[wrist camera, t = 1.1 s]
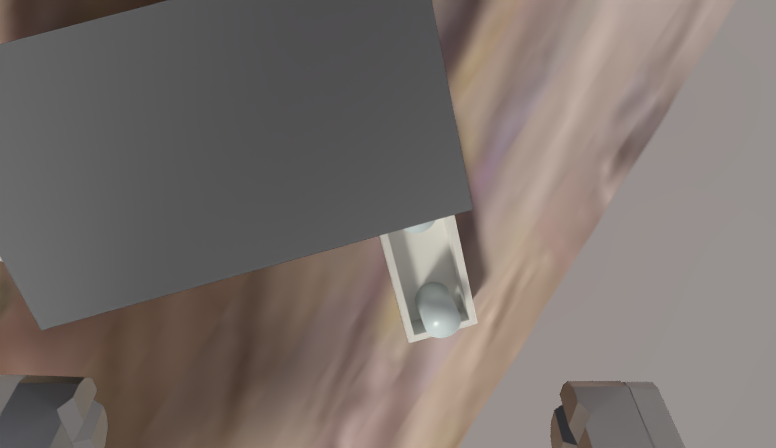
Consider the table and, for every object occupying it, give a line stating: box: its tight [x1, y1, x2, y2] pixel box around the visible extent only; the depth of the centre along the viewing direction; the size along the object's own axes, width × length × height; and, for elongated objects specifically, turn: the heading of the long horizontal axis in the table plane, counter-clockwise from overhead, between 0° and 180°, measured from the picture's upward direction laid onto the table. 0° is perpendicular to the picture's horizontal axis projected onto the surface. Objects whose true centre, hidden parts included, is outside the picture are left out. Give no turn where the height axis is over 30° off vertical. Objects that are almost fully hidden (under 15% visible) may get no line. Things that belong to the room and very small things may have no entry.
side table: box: [0, 0, 473, 330], centre depth 38 cm, size 14×24×16 cm, turn 104°
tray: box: [379, 215, 478, 343], centre depth 50 cm, size 14×6×5 cm, turn 14°
